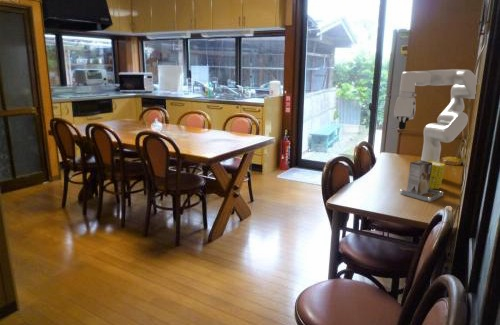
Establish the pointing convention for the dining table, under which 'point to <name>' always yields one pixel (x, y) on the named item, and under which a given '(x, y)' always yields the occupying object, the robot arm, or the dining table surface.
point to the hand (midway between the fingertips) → (401, 129)
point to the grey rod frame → (421, 197)
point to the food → (436, 174)
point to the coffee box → (419, 177)
